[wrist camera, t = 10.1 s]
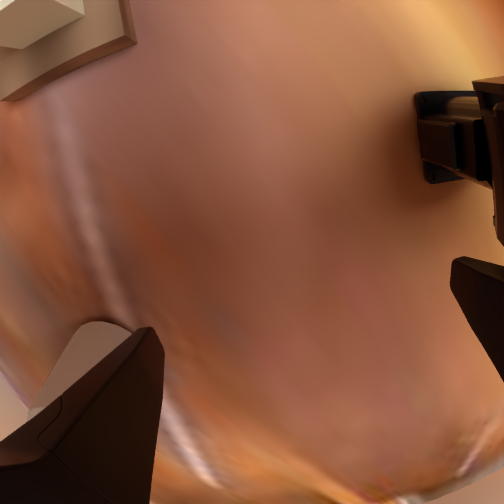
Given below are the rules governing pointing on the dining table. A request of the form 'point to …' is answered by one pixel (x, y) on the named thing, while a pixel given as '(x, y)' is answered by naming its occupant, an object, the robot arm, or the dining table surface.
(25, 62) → the plinth
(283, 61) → the dining table surface
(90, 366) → the can
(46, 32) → the block
